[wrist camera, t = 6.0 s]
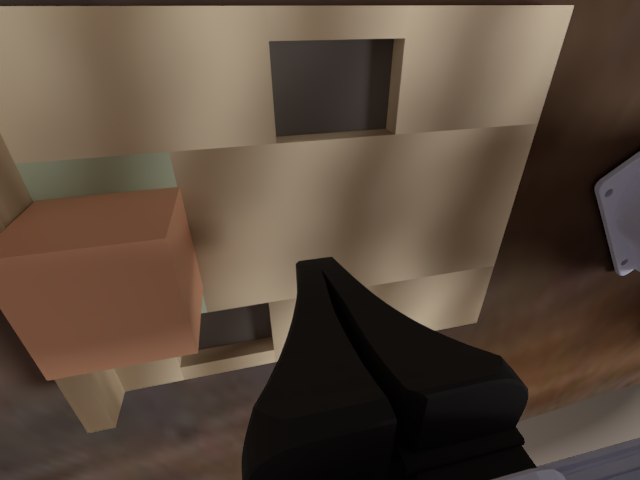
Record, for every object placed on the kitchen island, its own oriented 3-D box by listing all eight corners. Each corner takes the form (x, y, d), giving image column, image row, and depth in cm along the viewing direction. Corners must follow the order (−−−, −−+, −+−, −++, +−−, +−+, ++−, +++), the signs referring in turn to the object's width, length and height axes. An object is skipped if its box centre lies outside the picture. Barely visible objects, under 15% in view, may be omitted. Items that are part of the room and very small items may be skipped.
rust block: (179, 186, 14) (165, 238, 10) (202, 286, 16) (197, 352, 13) (35, 200, 13) (-31, 261, 9) (85, 303, 15) (47, 380, 12)
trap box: (550, 6, 15) (622, 2, 12) (465, 309, 24) (496, 346, 21) (-82, 8, 10) (-186, 2, 8) (106, 377, 19) (88, 433, 17)
